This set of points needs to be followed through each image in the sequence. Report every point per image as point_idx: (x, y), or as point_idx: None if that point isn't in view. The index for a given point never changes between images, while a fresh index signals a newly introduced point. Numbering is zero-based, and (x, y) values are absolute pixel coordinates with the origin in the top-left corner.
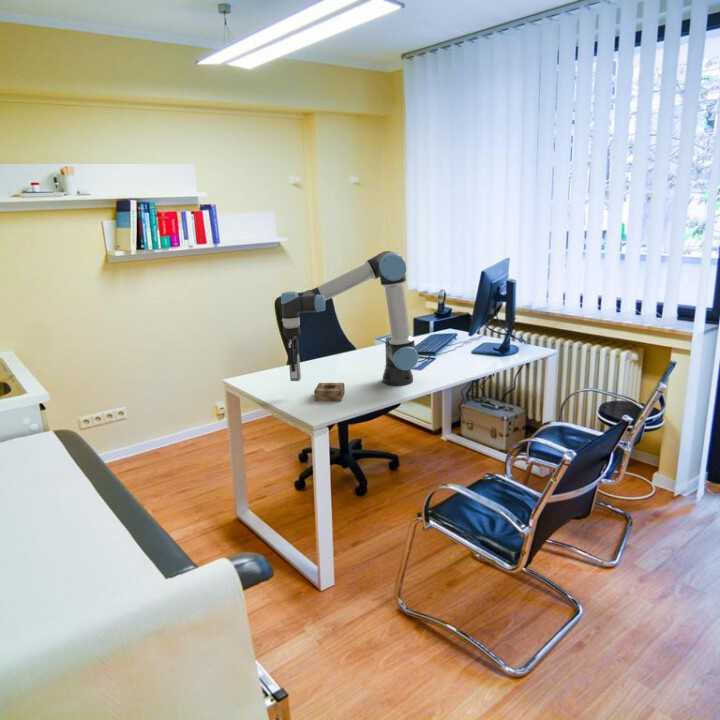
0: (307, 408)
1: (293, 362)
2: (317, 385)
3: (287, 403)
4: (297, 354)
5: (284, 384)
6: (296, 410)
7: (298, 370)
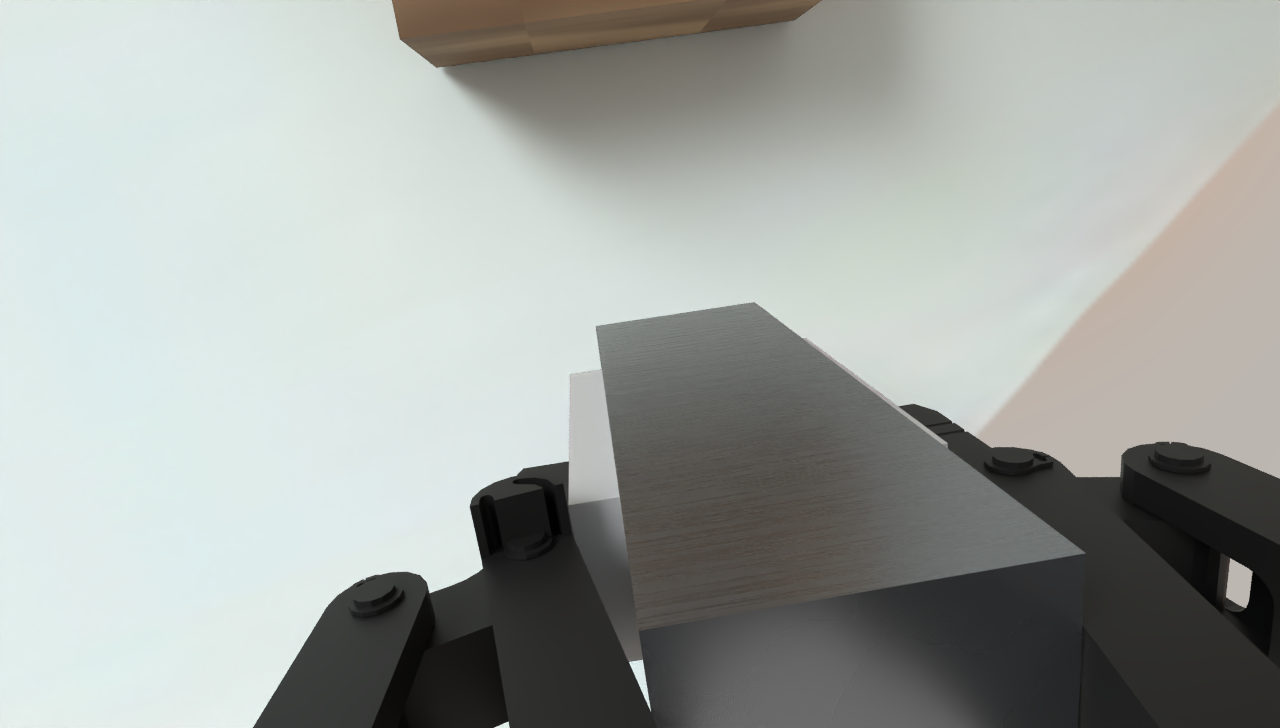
0: (1044, 38)
1: (1250, 485)
2: (558, 16)
3: (882, 351)
4: (860, 620)
5: (197, 655)
6: (1112, 155)
7: (799, 354)
